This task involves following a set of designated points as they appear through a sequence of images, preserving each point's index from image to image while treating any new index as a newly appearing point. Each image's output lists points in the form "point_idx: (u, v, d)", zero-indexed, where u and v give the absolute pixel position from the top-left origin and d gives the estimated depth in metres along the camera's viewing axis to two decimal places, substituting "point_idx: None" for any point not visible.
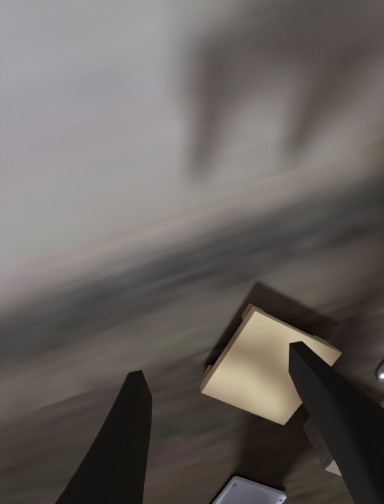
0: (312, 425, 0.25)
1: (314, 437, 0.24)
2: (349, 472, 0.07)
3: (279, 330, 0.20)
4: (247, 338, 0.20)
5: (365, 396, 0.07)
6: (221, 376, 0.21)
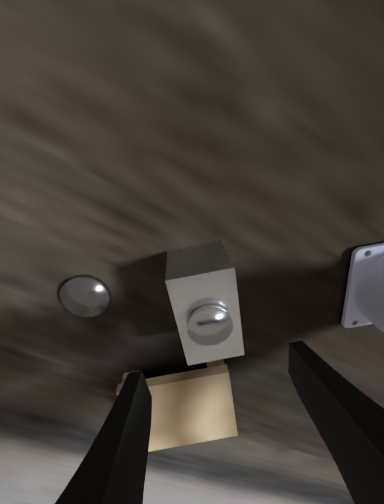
0: None
1: None
2: (349, 472, 0.07)
3: None
4: (168, 443, 0.23)
5: (365, 396, 0.07)
6: (213, 435, 0.23)
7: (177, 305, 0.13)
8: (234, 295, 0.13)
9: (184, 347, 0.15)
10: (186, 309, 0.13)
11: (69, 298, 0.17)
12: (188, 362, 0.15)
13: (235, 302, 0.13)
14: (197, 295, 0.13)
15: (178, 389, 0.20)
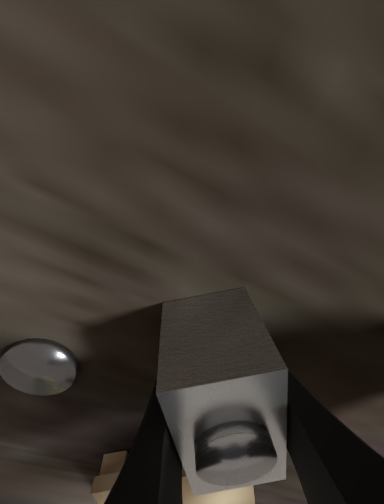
0: None
1: None
2: (305, 480, 0.07)
3: None
4: None
5: (320, 404, 0.07)
6: None
7: (179, 426, 0.07)
8: (281, 407, 0.07)
9: (189, 476, 0.09)
10: (194, 431, 0.07)
11: (13, 373, 0.11)
12: (195, 492, 0.09)
13: (281, 417, 0.08)
14: (215, 411, 0.07)
15: None
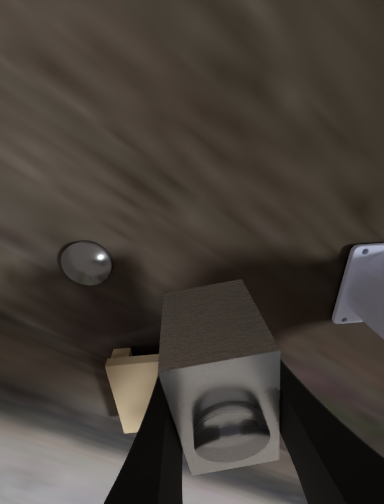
0: None
1: None
2: (305, 480, 0.07)
3: (126, 414, 0.22)
4: None
5: (320, 404, 0.07)
6: None
7: (178, 404, 0.08)
8: (274, 388, 0.08)
9: (187, 455, 0.09)
10: (193, 410, 0.08)
11: (70, 263, 0.16)
12: (193, 472, 0.10)
13: (274, 398, 0.08)
14: (212, 390, 0.08)
15: None
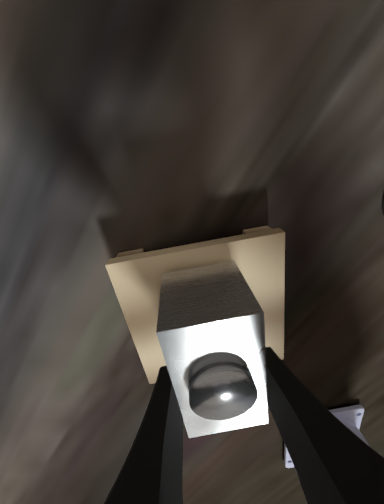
0: None
1: None
2: (305, 480, 0.07)
3: (163, 265, 0.12)
4: (134, 302, 0.13)
5: (320, 404, 0.07)
6: (152, 357, 0.15)
7: (175, 364, 0.09)
8: (260, 350, 0.09)
9: (184, 417, 0.10)
10: (188, 370, 0.09)
11: None
12: (189, 434, 0.11)
13: (261, 359, 0.09)
14: (205, 351, 0.09)
15: (267, 312, 0.14)
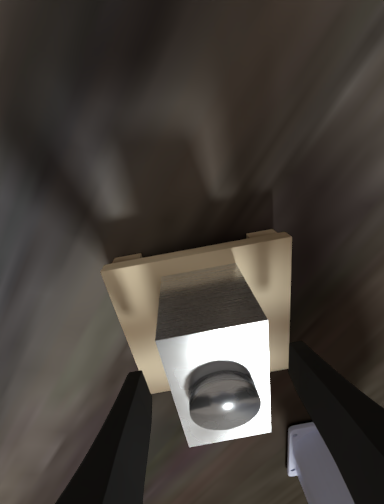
0: None
1: None
2: (349, 472, 0.07)
3: (162, 272, 0.12)
4: (131, 310, 0.12)
5: (365, 396, 0.07)
6: (151, 367, 0.14)
7: (174, 373, 0.08)
8: (264, 358, 0.08)
9: (184, 426, 0.10)
10: (188, 379, 0.09)
11: None
12: (190, 443, 0.10)
13: (264, 368, 0.09)
14: (206, 359, 0.08)
15: (272, 320, 0.13)
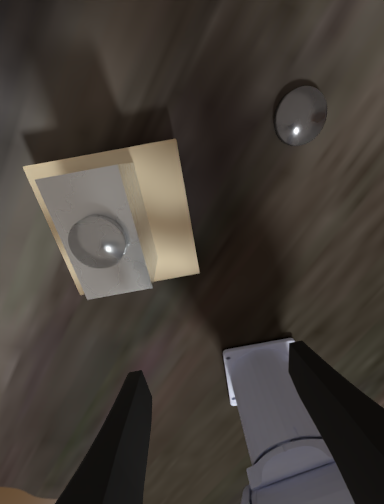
0: None
1: None
2: (349, 472, 0.07)
3: (73, 168, 0.14)
4: None
5: (365, 396, 0.07)
6: None
7: (57, 215, 0.11)
8: (124, 204, 0.11)
9: (78, 274, 0.13)
10: (69, 222, 0.11)
11: (306, 97, 0.15)
12: (87, 295, 0.13)
13: (127, 214, 0.11)
14: (78, 202, 0.11)
15: (175, 221, 0.16)
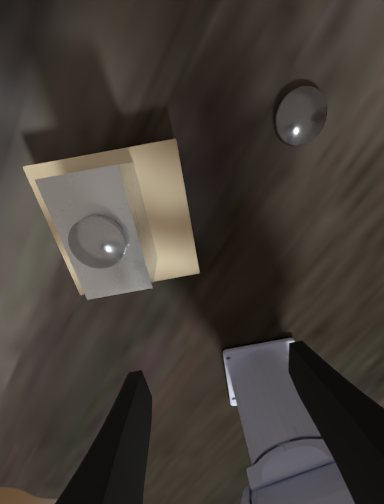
0: None
1: None
2: (349, 472, 0.07)
3: (73, 168, 0.14)
4: None
5: (365, 396, 0.07)
6: None
7: (57, 215, 0.11)
8: (124, 204, 0.11)
9: (78, 274, 0.13)
10: (69, 222, 0.11)
11: (306, 97, 0.15)
12: (87, 295, 0.13)
13: (127, 214, 0.11)
14: (78, 202, 0.11)
15: (175, 221, 0.16)
